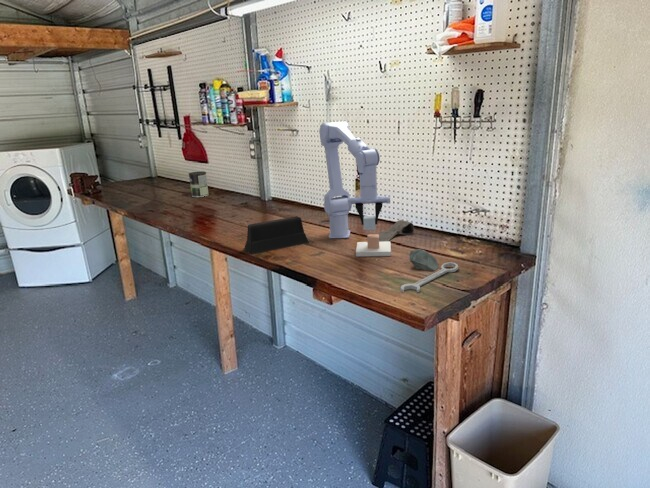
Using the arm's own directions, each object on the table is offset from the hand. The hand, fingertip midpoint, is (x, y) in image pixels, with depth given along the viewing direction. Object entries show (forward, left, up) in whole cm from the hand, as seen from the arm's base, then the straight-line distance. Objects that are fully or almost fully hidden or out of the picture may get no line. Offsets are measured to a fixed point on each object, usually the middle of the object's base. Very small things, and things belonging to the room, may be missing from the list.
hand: (369, 223), depth 165 cm
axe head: (-17, +8, -11) cm, 22 cm away
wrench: (+27, +18, -11) cm, 35 cm away
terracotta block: (0, +1, -8) cm, 8 cm away
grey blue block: (0, 0, -2) cm, 2 cm away
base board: (0, +1, -10) cm, 10 cm away
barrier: (-9, -36, -10) cm, 38 cm away
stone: (+16, +18, -10) cm, 26 cm away
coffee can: (-114, -107, -10) cm, 157 cm away
